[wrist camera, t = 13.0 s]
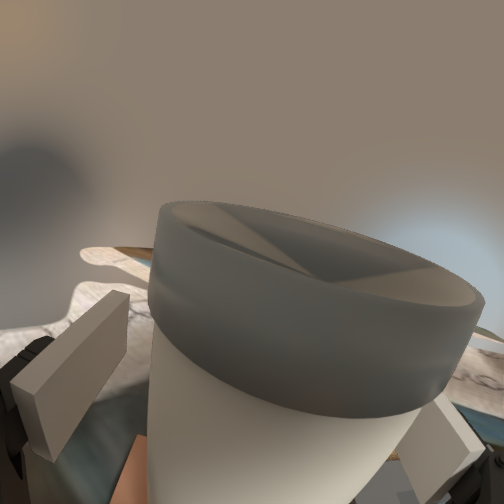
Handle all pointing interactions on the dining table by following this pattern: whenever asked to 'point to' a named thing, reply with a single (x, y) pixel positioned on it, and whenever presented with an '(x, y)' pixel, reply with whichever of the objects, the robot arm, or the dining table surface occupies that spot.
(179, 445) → the filter cartridge
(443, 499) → the frame
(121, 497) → the rubber mat
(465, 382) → the dining table surface
